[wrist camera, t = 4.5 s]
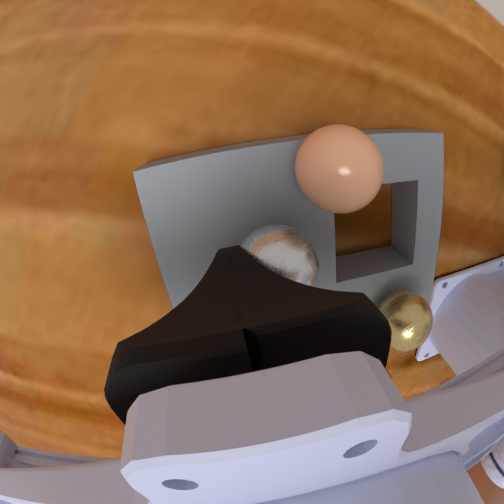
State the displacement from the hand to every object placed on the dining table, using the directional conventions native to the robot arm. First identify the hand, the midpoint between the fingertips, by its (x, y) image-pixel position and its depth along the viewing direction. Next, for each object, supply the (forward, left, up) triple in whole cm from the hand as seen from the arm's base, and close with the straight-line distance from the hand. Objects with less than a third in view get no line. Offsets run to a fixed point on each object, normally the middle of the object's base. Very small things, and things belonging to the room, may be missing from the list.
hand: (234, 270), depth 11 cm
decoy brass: (-8, +5, 0) cm, 9 cm away
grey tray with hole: (-4, +1, -4) cm, 6 cm away
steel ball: (-2, 0, 0) cm, 2 cm away
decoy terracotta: (-4, -3, 0) cm, 5 cm away
